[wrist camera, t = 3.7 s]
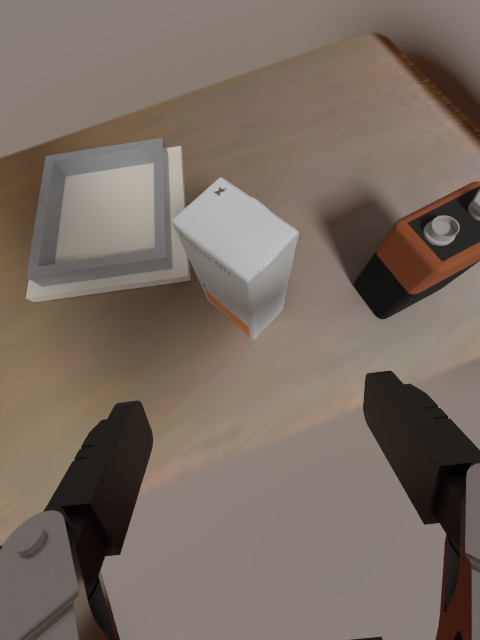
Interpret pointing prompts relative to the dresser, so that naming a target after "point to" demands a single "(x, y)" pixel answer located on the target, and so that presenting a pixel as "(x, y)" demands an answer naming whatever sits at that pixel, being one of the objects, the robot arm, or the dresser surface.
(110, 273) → the grey rimmed tray
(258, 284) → the skincare box
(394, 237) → the battery
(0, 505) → the dresser surface
